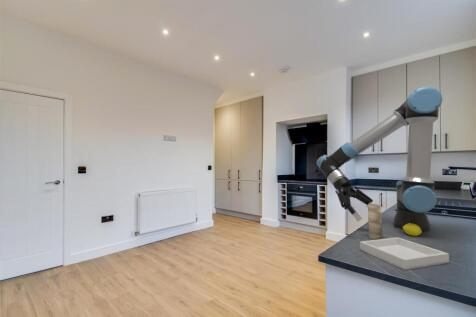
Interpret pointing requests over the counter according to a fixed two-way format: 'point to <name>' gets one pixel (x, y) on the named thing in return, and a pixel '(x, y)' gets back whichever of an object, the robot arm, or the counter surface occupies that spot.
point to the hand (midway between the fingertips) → (369, 217)
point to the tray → (404, 253)
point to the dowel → (375, 221)
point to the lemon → (412, 229)
